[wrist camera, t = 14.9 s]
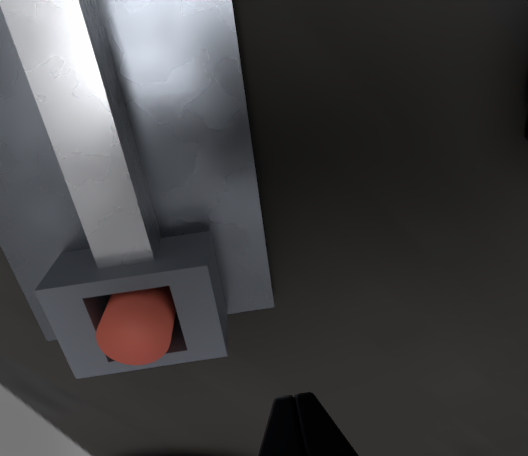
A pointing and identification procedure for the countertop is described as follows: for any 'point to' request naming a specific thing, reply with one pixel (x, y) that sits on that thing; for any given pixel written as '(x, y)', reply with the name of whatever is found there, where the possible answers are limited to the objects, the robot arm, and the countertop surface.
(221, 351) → the windowed grey end block
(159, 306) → the button
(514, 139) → the countertop surface
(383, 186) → the countertop surface
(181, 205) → the rail base
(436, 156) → the countertop surface
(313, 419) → the robot arm
